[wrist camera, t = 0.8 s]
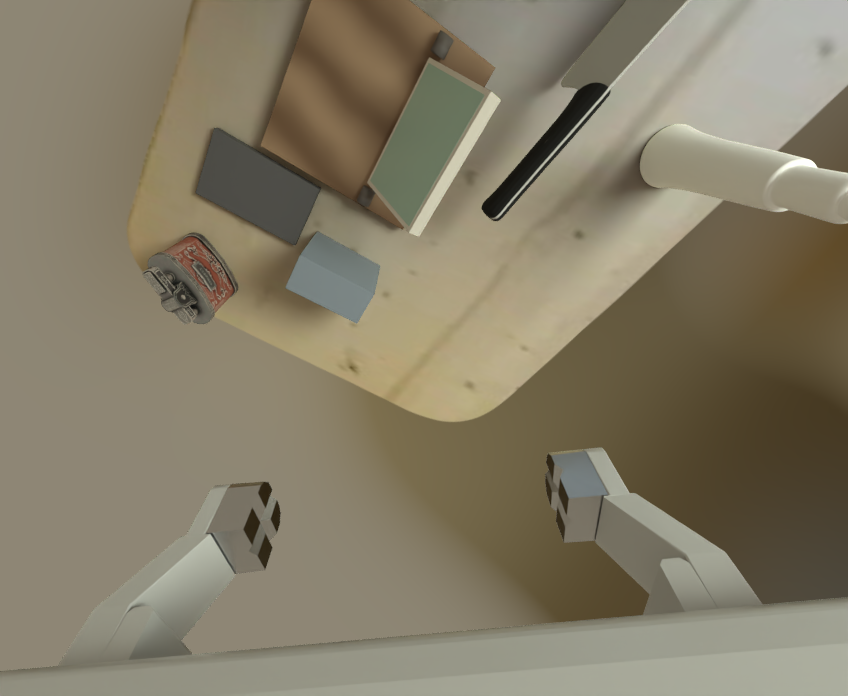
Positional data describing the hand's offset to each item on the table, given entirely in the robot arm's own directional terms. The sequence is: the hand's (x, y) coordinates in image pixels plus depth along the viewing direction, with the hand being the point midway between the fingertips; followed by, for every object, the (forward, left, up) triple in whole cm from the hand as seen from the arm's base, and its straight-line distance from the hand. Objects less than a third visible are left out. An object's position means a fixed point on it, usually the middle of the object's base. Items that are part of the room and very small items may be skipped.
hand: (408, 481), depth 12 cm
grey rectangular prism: (+11, -4, -38) cm, 39 cm away
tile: (-5, -5, -36) cm, 36 cm away
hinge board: (-5, -8, -38) cm, 39 cm away
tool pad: (+8, -15, -38) cm, 41 cm away
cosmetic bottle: (-17, +21, -38) cm, 47 cm away
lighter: (+19, -17, -38) cm, 45 cm away
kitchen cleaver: (-19, +7, -38) cm, 43 cm away
